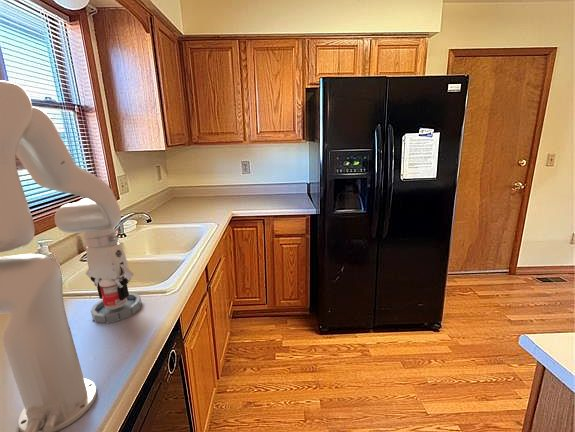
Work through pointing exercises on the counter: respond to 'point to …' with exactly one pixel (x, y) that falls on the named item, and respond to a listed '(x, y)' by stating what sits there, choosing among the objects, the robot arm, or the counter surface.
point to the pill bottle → (110, 293)
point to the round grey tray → (116, 310)
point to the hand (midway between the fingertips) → (114, 296)
